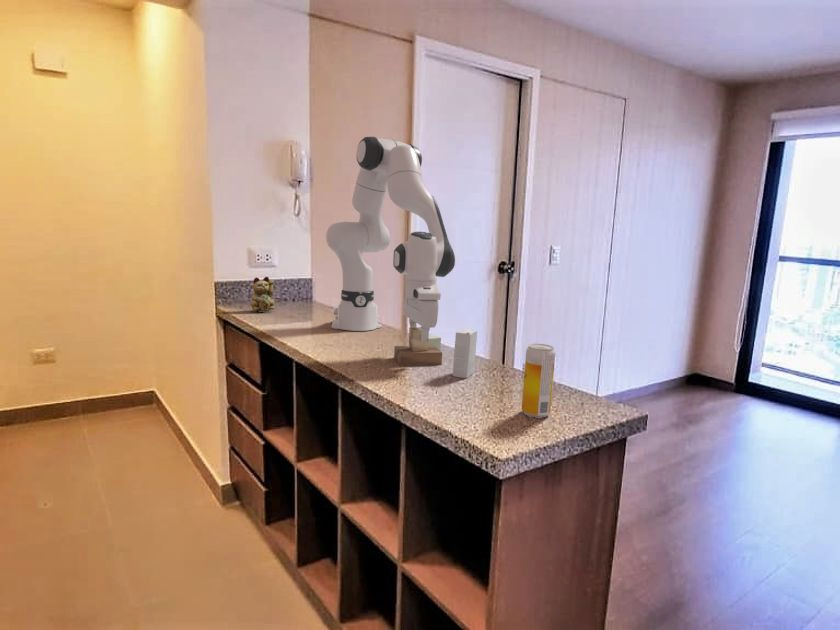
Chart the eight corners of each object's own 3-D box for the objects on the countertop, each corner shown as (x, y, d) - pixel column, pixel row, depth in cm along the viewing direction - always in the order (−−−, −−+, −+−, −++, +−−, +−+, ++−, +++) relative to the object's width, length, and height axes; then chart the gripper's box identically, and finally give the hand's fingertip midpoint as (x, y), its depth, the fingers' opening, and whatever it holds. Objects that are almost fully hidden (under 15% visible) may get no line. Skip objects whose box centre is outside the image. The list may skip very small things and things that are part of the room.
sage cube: (418, 351, 169) (418, 335, 168) (431, 349, 171) (431, 334, 170) (427, 355, 165) (427, 339, 164) (440, 353, 167) (441, 337, 166)
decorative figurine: (255, 314, 220) (254, 277, 217) (246, 311, 226) (246, 275, 224) (277, 312, 226) (277, 276, 224) (268, 309, 232) (268, 274, 230)
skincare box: (459, 371, 148) (462, 328, 146) (475, 373, 146) (477, 329, 144) (451, 376, 142) (454, 331, 140) (467, 379, 140) (470, 333, 138)
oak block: (408, 347, 157) (409, 327, 156) (423, 346, 159) (423, 326, 158) (413, 351, 153) (413, 330, 152) (428, 350, 155) (428, 329, 153)
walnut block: (393, 359, 159) (394, 346, 158) (432, 358, 162) (433, 345, 162) (400, 367, 151) (401, 353, 150) (441, 366, 154) (442, 352, 153)
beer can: (537, 407, 120) (542, 342, 118) (555, 416, 115) (562, 348, 112) (515, 411, 117) (520, 344, 115) (533, 420, 112) (539, 350, 110)
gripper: (399, 285, 162) (398, 330, 164) (420, 294, 142) (418, 345, 145) (419, 285, 164) (417, 329, 166) (443, 294, 144) (440, 344, 147)
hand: (418, 337), depth 155 cm, fingers open, 8 cm apart
